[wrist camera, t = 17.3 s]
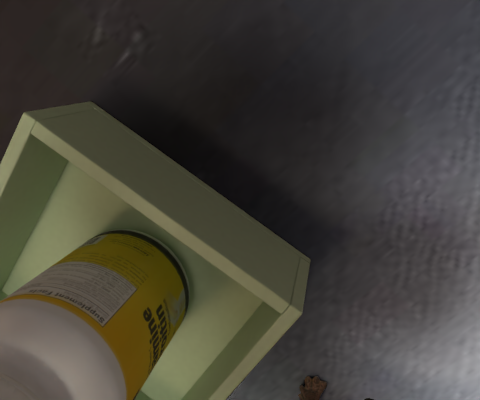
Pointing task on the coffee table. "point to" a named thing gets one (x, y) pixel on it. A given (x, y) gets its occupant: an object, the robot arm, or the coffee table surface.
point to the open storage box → (154, 224)
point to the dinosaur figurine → (312, 388)
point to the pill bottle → (93, 321)
